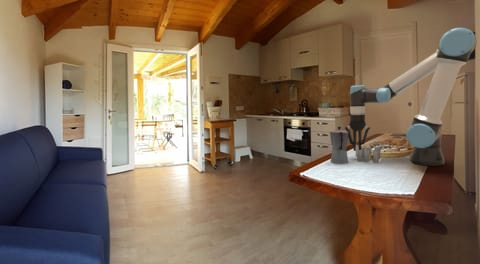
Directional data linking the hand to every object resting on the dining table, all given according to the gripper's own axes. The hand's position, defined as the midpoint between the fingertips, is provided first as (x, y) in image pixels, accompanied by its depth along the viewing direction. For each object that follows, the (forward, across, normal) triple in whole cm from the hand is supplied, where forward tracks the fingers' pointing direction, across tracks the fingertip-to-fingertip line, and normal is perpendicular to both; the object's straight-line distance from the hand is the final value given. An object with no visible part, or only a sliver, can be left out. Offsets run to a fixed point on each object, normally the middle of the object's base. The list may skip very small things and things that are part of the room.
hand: (357, 156), depth 162 cm
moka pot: (+3, +7, +10) cm, 13 cm away
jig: (+2, -6, 0) cm, 7 cm away
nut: (+1, -6, 0) cm, 6 cm away
